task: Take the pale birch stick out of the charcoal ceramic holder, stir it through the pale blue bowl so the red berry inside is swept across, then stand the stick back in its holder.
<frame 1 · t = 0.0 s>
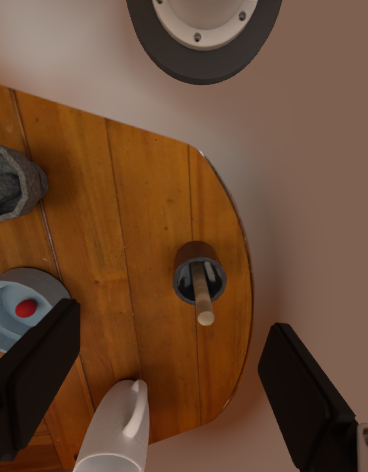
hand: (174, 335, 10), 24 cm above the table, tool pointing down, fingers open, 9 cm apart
mortar and pestle: (26, 184, 31), on the table
mixing bowl: (34, 301, 37), on the table
holder: (195, 261, 35), on the table
stick: (196, 263, 35), resting on holder
berry: (26, 308, 35), point 2 cm above the table, touching mixing bowl
mug: (131, 386, 44), on the table
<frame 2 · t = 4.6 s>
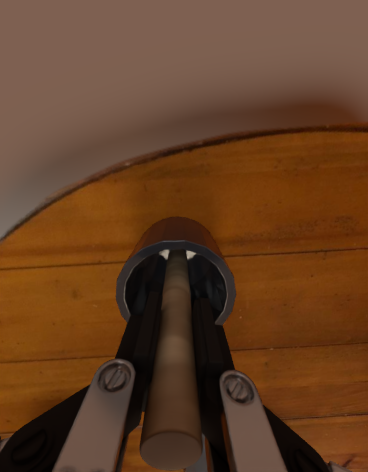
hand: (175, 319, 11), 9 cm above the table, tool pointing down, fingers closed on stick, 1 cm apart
holder: (177, 255, 20), on the table
stick: (177, 257, 19), resting on holder, touching gripper
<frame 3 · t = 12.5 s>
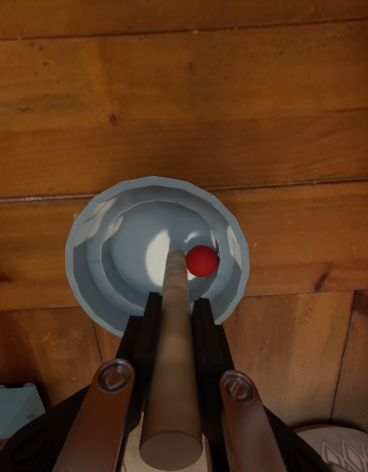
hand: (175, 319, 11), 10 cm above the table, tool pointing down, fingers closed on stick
mixing bowl: (163, 249, 20), on the table
stick: (176, 256, 19), point 2 cm above the table, touching berry, gripper
berry: (201, 261, 19), point 2 cm above the table, tilted 139°, touching mixing bowl, stick
planter: (311, 455, 31), on the table
teapot: (28, 396, 26), on the table
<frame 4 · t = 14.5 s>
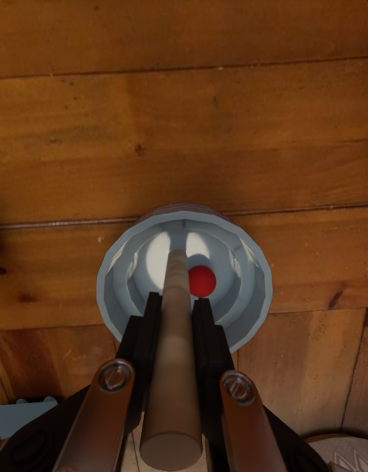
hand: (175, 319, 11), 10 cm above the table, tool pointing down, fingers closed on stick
mixing bowl: (183, 270, 21), on the table
stick: (177, 256, 19), point 2 cm above the table, touching gripper
berry: (200, 281, 19), point 2 cm above the table, tilted 58°, touching mixing bowl
planter: (321, 463, 31), on the table
teapot: (48, 409, 27), on the table
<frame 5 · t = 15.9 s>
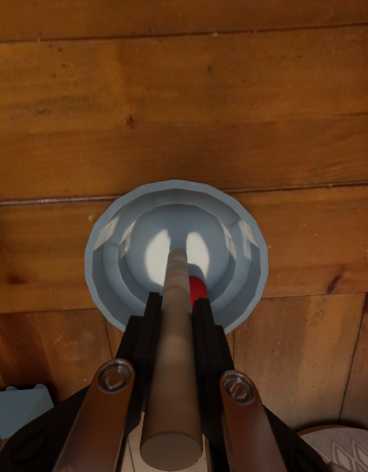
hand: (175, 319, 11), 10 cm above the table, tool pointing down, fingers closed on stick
mixing bowl: (177, 251, 20), on the table
stick: (177, 256, 19), point 1 cm above the table, touching gripper
berry: (191, 291, 20), point 2 cm above the table, tilted 128°, touching mixing bowl
planter: (319, 455, 31), on the table
teapot: (38, 397, 26), on the table
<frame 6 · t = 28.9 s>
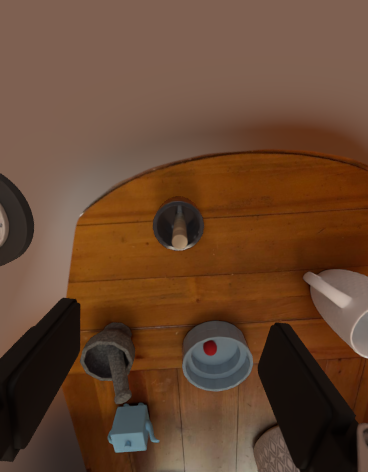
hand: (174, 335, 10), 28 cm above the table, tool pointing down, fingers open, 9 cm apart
mortar and pestle: (120, 334, 44), on the table
mixing bowl: (213, 345, 46), on the table
holder: (178, 217, 37), on the table
stick: (179, 217, 36), resting on holder
berry: (210, 347, 43), point 2 cm above the table, tilted 79°, touching mixing bowl
planter: (284, 440, 56), on the table
mug: (321, 281, 41), on the table
teapot: (138, 409, 51), on the table
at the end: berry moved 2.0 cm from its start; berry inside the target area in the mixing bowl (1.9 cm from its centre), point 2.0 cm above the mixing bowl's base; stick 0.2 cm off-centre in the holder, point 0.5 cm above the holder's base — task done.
